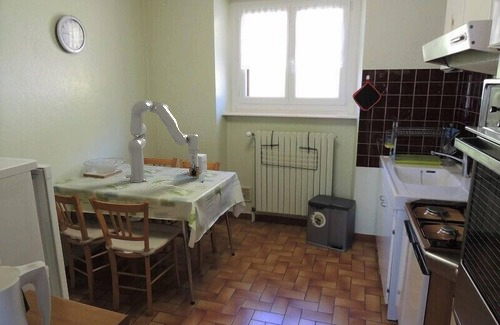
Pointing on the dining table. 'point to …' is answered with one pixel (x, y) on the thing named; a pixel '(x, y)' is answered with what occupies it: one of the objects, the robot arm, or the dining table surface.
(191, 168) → the collar
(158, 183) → the dining table surface
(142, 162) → the robot arm
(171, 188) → the dining table surface
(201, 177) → the post board
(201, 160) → the supplement box
